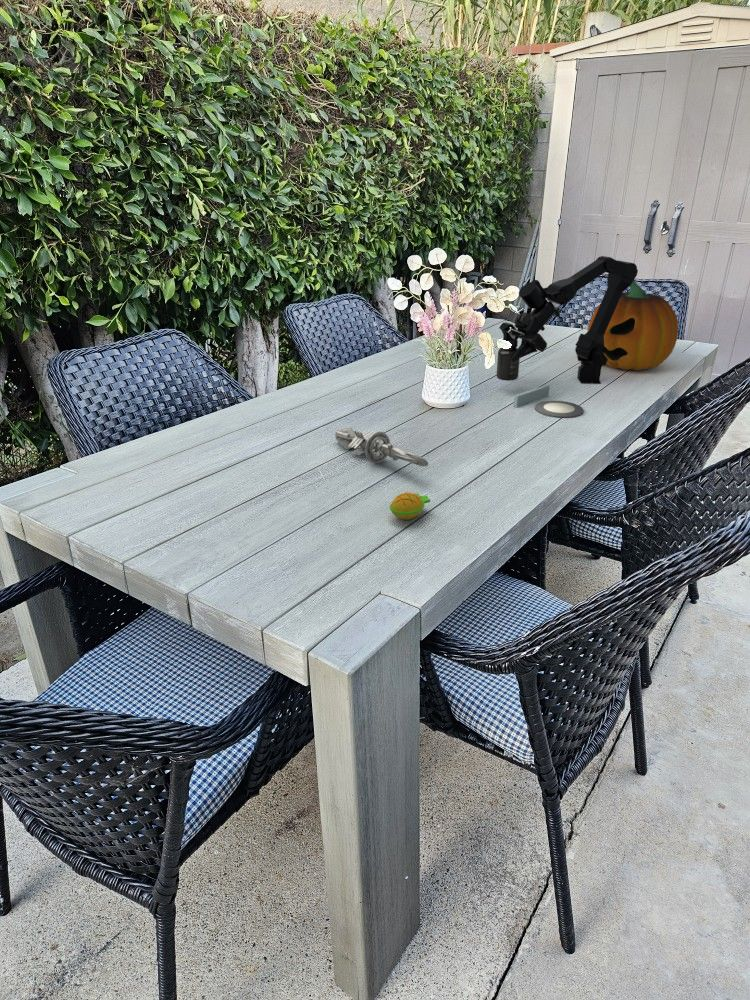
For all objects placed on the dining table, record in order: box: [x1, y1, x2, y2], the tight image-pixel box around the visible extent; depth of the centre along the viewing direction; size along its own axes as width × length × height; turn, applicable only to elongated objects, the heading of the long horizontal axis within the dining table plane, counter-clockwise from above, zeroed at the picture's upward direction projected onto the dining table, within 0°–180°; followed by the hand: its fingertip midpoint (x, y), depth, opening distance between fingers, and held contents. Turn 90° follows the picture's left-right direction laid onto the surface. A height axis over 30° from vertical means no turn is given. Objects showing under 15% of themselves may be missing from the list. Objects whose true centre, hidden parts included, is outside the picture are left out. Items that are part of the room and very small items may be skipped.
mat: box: [534, 400, 584, 419], centre depth 204 cm, size 14×14×1 cm
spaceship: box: [334, 427, 429, 467], centre depth 167 cm, size 8×35×8 cm
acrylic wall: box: [513, 384, 550, 408], centre depth 210 cm, size 16×1×4 cm, turn 132°
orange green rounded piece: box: [389, 491, 431, 521], centre depth 143 cm, size 7×10×5 cm
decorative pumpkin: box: [586, 280, 679, 371], centre depth 241 cm, size 30×30×30 cm
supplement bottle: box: [496, 338, 521, 382], centre depth 213 cm, size 7×7×12 cm
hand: (504, 357), depth 212 cm, fingers closed on supplement bottle, 7 cm apart
